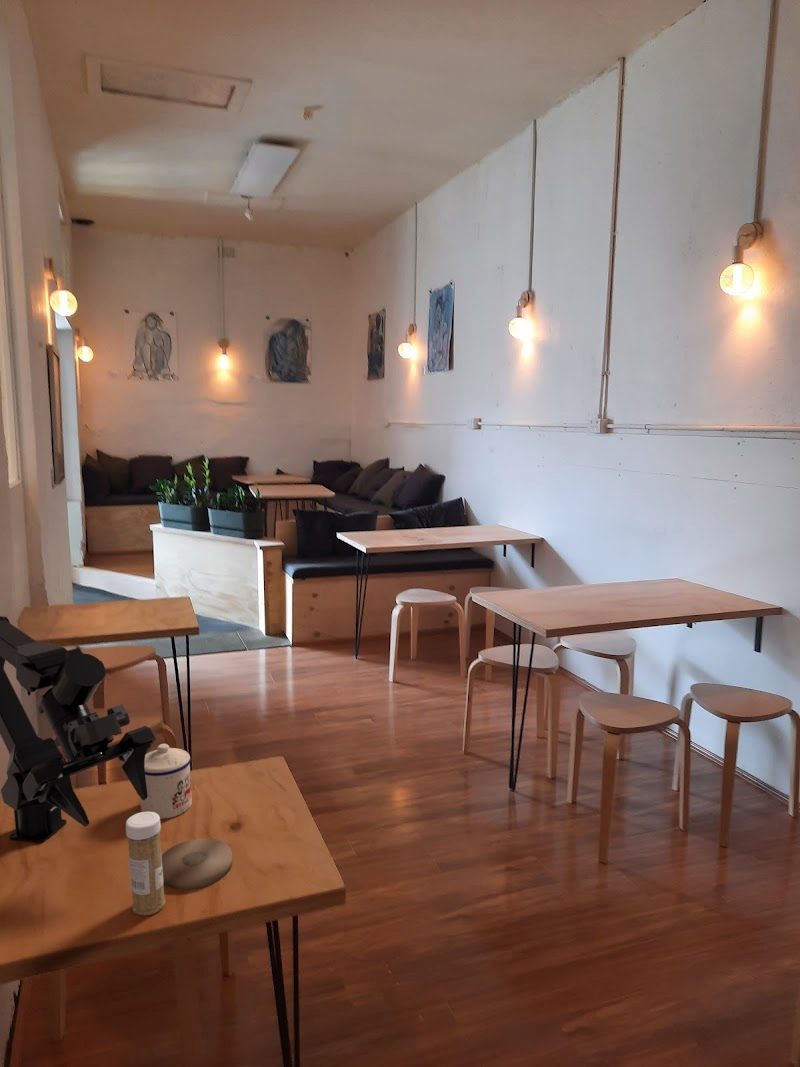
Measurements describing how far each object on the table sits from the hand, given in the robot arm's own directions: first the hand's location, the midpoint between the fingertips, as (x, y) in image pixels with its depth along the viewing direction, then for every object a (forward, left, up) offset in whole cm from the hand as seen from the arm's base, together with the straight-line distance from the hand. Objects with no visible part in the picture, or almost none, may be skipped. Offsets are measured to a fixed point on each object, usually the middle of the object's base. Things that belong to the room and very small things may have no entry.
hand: (117, 811), depth 109 cm
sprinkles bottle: (+6, -3, -12) cm, 14 cm away
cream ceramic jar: (-6, +24, -12) cm, 28 cm away
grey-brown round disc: (+8, +7, -12) cm, 16 cm away
